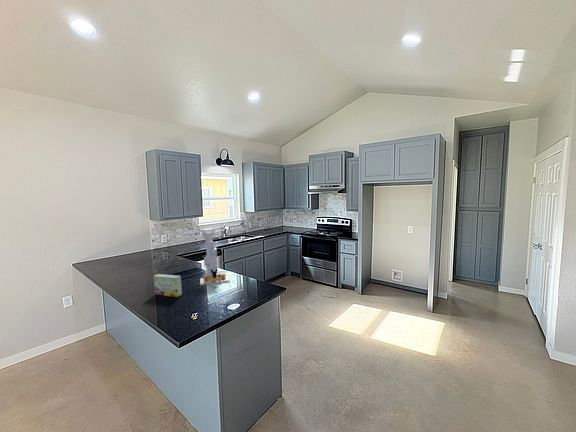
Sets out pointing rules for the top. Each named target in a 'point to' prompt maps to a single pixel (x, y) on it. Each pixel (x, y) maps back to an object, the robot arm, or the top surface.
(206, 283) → the firebox plate
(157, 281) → the snack box
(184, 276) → the top surface
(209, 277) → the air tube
